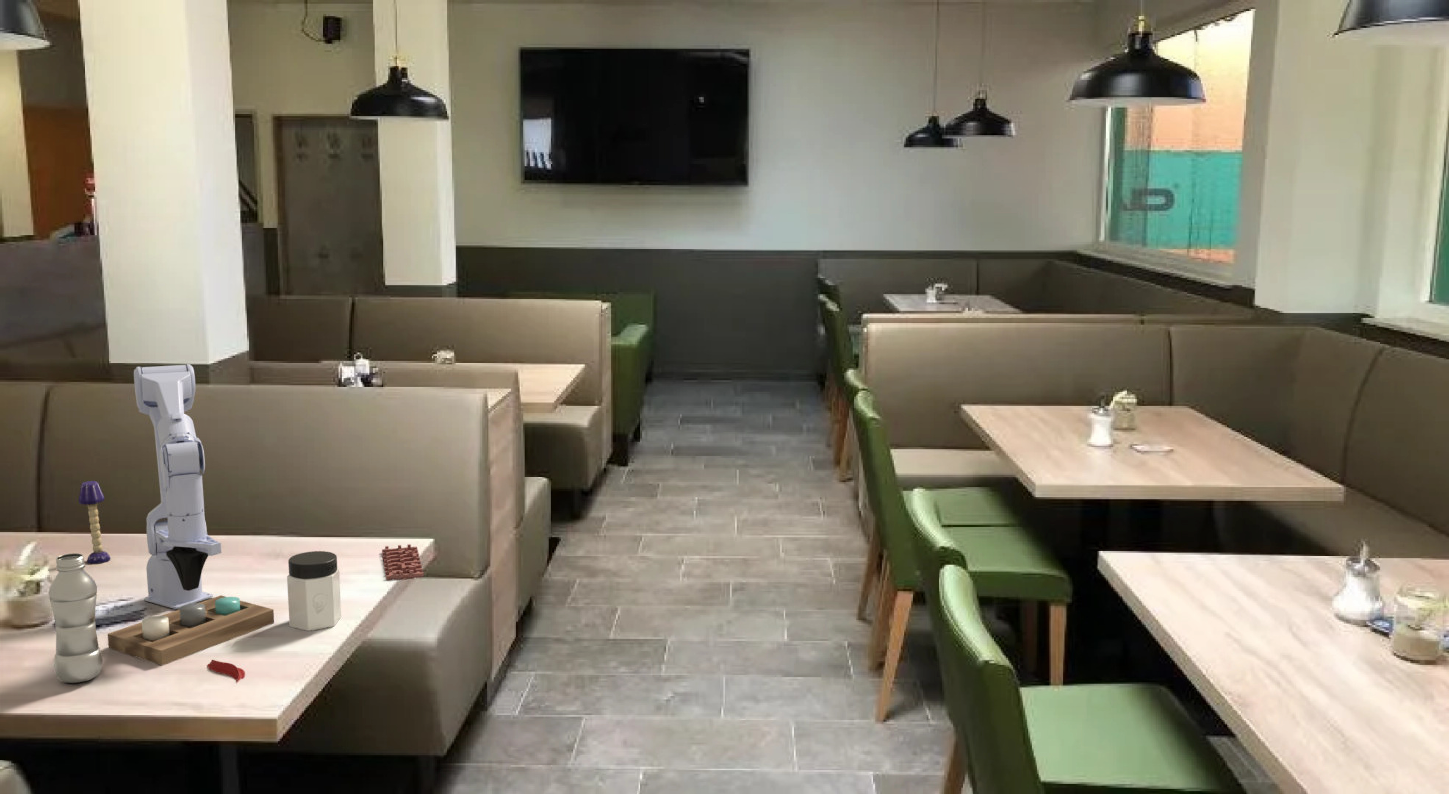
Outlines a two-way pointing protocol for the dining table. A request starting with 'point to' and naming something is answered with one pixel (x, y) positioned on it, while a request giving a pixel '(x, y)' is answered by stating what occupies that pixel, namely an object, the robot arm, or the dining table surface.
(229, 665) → the cayenne pepper
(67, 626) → the plastic bottle
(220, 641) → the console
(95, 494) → the toy lamp
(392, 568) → the brown woven panel
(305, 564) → the jar
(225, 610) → the teal rounded piece
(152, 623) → the ivory key
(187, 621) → the graphite key
